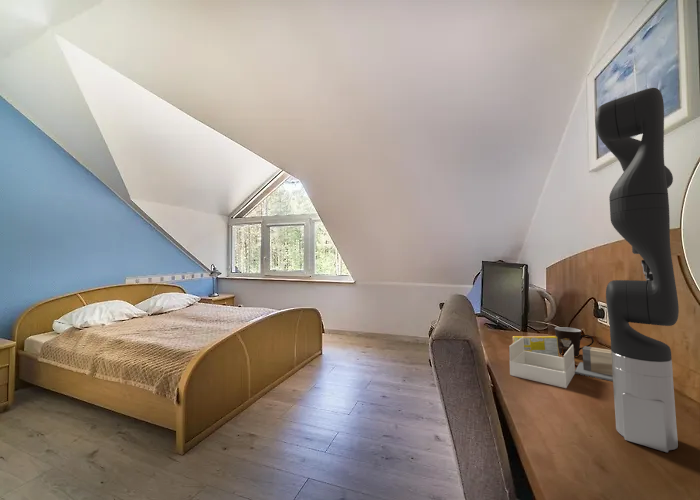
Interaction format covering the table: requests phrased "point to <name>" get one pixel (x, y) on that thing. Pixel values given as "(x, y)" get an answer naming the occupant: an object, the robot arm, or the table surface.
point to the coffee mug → (569, 339)
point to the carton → (541, 365)
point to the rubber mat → (592, 373)
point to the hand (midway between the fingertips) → (653, 293)
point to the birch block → (597, 360)
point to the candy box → (540, 344)
